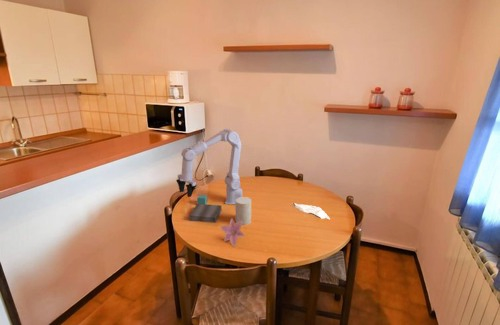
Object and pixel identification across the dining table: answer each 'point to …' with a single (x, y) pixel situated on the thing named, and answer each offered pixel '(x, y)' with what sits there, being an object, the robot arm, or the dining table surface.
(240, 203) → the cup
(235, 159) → the robot arm
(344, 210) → the dining table surface
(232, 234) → the lily
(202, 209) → the plinth
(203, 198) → the block
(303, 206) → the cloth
